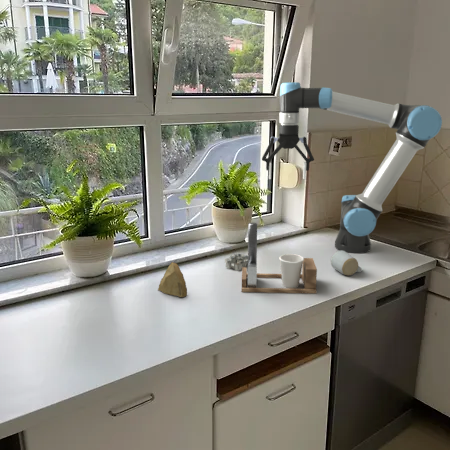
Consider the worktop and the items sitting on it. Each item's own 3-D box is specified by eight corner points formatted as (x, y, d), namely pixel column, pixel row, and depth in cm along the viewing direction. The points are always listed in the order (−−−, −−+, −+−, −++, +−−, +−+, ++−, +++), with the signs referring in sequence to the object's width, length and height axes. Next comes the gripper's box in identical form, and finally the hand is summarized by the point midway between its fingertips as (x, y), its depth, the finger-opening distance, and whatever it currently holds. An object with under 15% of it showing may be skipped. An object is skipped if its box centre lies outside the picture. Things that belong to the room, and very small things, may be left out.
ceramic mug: (342, 278, 167) (344, 258, 165) (329, 270, 175) (331, 251, 173) (366, 274, 171) (368, 255, 169) (353, 267, 178) (355, 248, 176)
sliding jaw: (256, 277, 167) (257, 219, 161) (256, 289, 158) (257, 227, 152) (247, 277, 167) (248, 219, 161) (247, 288, 158) (248, 227, 152)
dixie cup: (285, 291, 157) (286, 263, 154) (274, 282, 164) (275, 255, 161) (307, 287, 160) (308, 260, 157) (294, 278, 167) (296, 252, 164)
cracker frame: (311, 277, 168) (312, 256, 166) (316, 293, 155) (317, 271, 152) (242, 276, 169) (242, 255, 167) (241, 291, 156) (241, 269, 154)
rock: (196, 290, 152) (188, 275, 161) (181, 273, 148) (173, 259, 156) (170, 310, 152) (163, 295, 161) (154, 295, 148) (148, 280, 156)
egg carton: (239, 272, 174) (239, 262, 173) (222, 268, 178) (222, 258, 177) (253, 263, 183) (253, 253, 182) (236, 260, 187) (236, 250, 185)
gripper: (256, 124, 175) (255, 180, 181) (323, 124, 174) (320, 180, 179) (256, 123, 182) (255, 176, 188) (320, 123, 181) (317, 177, 187)
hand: (287, 178), depth 184 cm, fingers open, 13 cm apart
